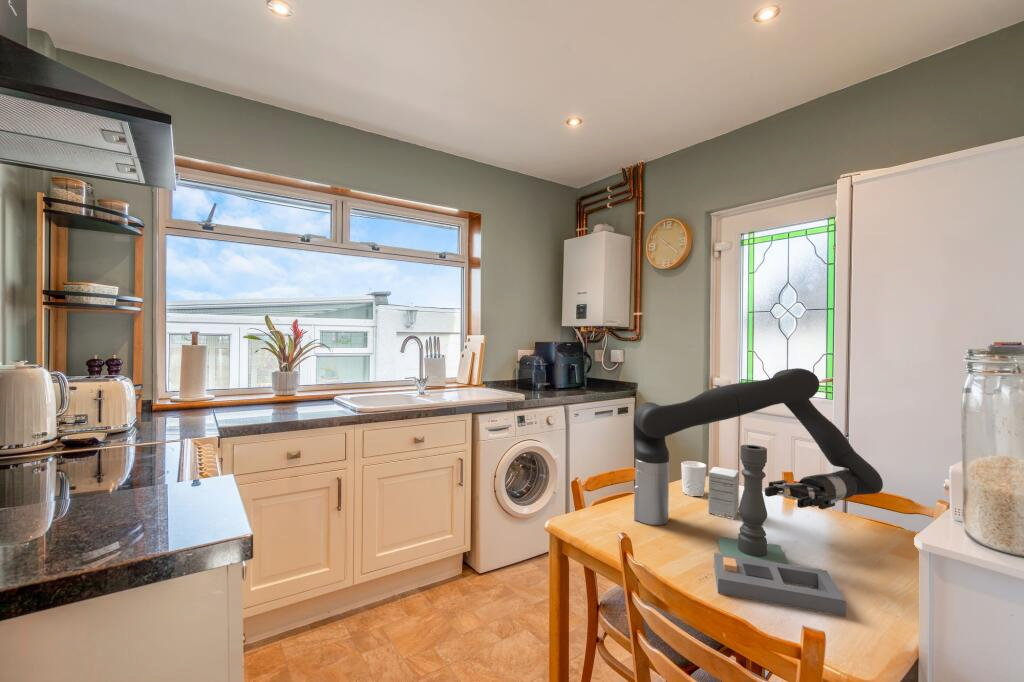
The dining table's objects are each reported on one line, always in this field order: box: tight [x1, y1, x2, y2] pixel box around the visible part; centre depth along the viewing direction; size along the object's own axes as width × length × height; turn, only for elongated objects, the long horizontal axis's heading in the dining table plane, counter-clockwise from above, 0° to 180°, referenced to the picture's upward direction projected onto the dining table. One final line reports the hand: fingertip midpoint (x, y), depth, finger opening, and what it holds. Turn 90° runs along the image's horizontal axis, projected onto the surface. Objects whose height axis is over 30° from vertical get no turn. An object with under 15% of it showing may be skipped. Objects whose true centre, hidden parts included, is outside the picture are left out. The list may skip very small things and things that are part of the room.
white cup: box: [680, 460, 707, 497], centre depth 154 cm, size 8×8×10 cm
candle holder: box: [737, 444, 768, 557], centre depth 110 cm, size 6×6×25 cm
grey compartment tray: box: [713, 552, 847, 618], centre depth 95 cm, size 22×12×4 cm, turn 70°
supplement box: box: [707, 466, 740, 519], centre depth 137 cm, size 7×7×13 cm
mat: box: [717, 536, 790, 565], centre depth 110 cm, size 14×12×1 cm
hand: (782, 497), depth 115 cm, fingers open, 8 cm apart
